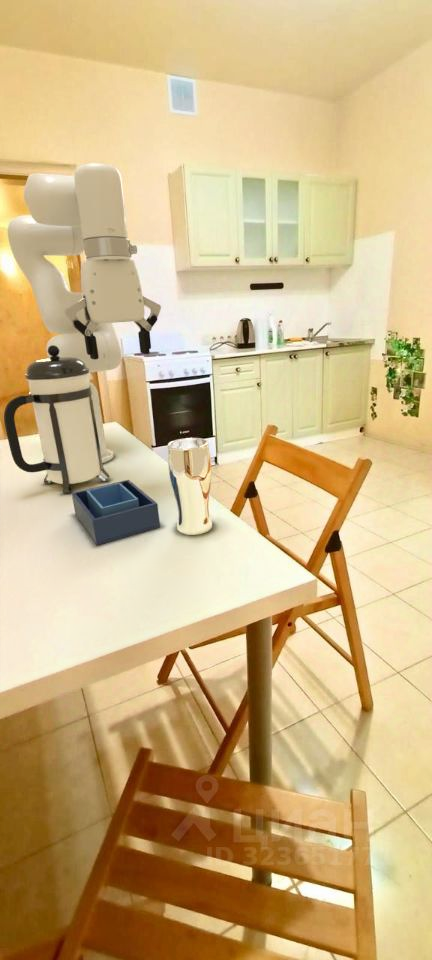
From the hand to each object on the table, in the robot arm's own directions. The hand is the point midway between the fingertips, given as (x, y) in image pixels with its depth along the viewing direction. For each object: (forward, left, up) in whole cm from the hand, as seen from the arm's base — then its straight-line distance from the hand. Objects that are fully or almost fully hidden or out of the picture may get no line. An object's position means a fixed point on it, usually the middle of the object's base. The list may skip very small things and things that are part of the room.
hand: (120, 356), depth 82 cm
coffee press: (-16, -10, -28) cm, 34 cm away
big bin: (+9, -8, -28) cm, 30 cm away
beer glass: (+20, +3, -28) cm, 34 cm away
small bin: (+8, -8, -27) cm, 30 cm away
